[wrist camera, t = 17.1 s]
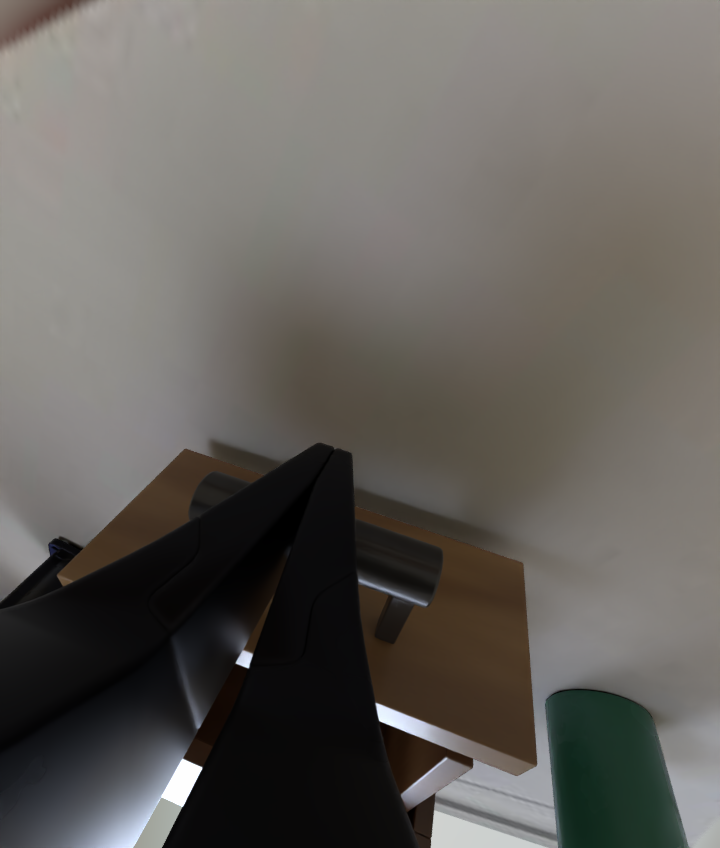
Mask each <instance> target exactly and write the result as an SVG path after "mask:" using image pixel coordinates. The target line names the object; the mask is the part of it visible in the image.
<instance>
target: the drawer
mask: <svg viewBox="0 0 720 848" xmlns="http://www.w3.org/2000/svg"><path fill="white" fill-rule="evenodd" d="M262 476H264V475H262V474H259V473H256V472H253V471H250V470H247V469H244V468H241V467H239V466H236V465H233V464H230V463H227V462H224V461H221V460H218V459H215V458H212V457H209V456H206V455H203V454H200V453H197V452H194V451H191V450H188V449H184V450H183V451H182V452H181V453H180V454H179V455H178V456H177V457H176V458H175V459H174V460H173V461H172V462H171V463H170V464H169V465H168V466H167V467H166V468H165V469H164V470H163V471H162V472H161V473H160V474H159V475H158V476H157V477H156V478H155V479H154V480H153V481H152V482H151V483H150V484H149V485H148V486H147V487H146V488H145V489H144V490H142V491H141V492H140V493H139V494H138V495H137V496H136V497H135V498H134V499H133V500H132V501H131V502H130V503H129V504H128V505H127V506H126V507H125V508H124V509H123V510H122V511H121V512H120V513H119V514H118V515H117V516H116V517H115V518H114V519H113V520H112V521H111V522H110V523H109V524H108V525H107V526H106V527H105V528H104V529H103V530H102V531H101V532H100V533H99V534H98V535H97V536H96V537H95V538H94V539H93V540H92V541H91V542H90V543H89V544H88V545H87V546H86V547H85V548H84V549H83V550H82V551H81V552H80V553H78V554H77V555H76V556H75V557H74V558H73V559H72V560H71V561H70V562H69V563H68V564H67V565H66V566H65V567H64V568H63V569H62V570H61V571H60V572H59V573H58V574H57V577H58V578H59V580H60V582H61V584H62V585H63V586H65V585H67V584H69V583H71V582H73V581H76V580H78V579H80V578H82V577H84V576H86V575H88V574H90V573H92V572H94V571H96V570H98V569H100V568H102V567H104V566H106V565H108V564H110V563H112V562H114V561H116V560H118V559H120V558H122V557H124V556H126V555H128V554H130V553H132V552H134V551H136V550H138V549H140V548H142V547H144V546H146V545H148V544H150V543H152V542H154V541H155V540H157V539H159V538H161V537H163V536H164V535H166V534H168V533H169V532H171V531H173V530H175V529H176V528H178V527H180V526H182V525H183V524H185V523H187V522H188V521H190V520H191V519H193V518H195V517H197V516H198V517H200V514H202V513H203V512H205V511H206V510H208V509H210V508H211V507H213V506H215V505H216V504H218V503H220V502H221V501H223V500H225V499H226V498H228V497H229V496H231V495H233V494H234V493H236V492H238V491H239V490H241V489H243V488H244V487H246V486H247V485H249V484H251V483H252V482H254V481H256V480H257V479H259V478H261V477H262ZM355 525H356V547H357V568H358V571H357V574H358V586H359V600H360V612H361V620H362V627H363V634H364V641H365V647H366V652H367V658H368V663H369V669H370V674H371V680H372V685H373V691H374V696H375V701H376V707H377V712H378V718H379V722H380V727H381V732H382V736H383V741H384V745H385V749H386V753H387V756H388V760H389V763H390V767H391V770H392V773H393V776H394V778H395V781H396V784H397V787H398V789H399V792H400V795H401V798H402V800H403V803H404V806H405V809H406V811H407V812H408V811H409V810H411V809H412V808H414V807H415V806H417V805H418V804H420V803H421V802H423V801H424V800H426V799H427V798H429V797H430V796H432V795H433V794H435V793H436V792H438V791H439V790H441V789H442V788H444V787H445V786H447V785H448V784H449V783H451V782H452V781H454V780H455V779H457V778H458V777H460V776H461V775H463V774H464V773H466V772H467V771H469V770H470V769H472V768H473V759H475V760H477V761H480V762H482V763H485V764H487V765H490V766H492V767H495V768H497V769H500V770H502V771H505V772H507V773H510V774H512V775H515V776H518V775H520V774H522V773H524V772H526V771H528V770H530V769H532V768H534V767H536V766H537V753H536V738H535V724H534V710H533V696H532V681H531V667H530V653H529V638H528V624H527V610H526V596H525V581H524V567H523V563H522V562H519V561H516V560H513V559H510V558H507V557H504V556H501V555H498V554H495V553H492V552H490V551H487V550H484V549H481V548H478V547H475V546H472V545H469V544H466V543H463V542H460V541H457V540H454V539H451V538H448V537H445V536H442V535H439V534H436V533H433V532H430V531H428V530H425V529H422V528H419V527H416V526H413V525H410V524H407V523H404V522H401V521H398V520H395V519H392V518H389V517H386V516H383V515H380V514H377V513H374V512H371V511H368V510H366V509H363V508H360V507H357V506H355ZM274 594H275V593H274ZM273 597H274V595H273ZM273 597H272V598H271V600H270V602H269V604H268V606H267V607H266V609H265V611H264V613H263V615H262V616H261V618H260V620H259V622H258V624H257V625H256V627H255V629H254V631H253V633H252V634H251V636H250V638H249V640H248V642H247V643H246V645H245V647H244V649H243V651H242V652H241V654H240V656H239V658H238V660H237V661H236V663H235V665H234V667H233V669H232V670H231V672H230V674H229V676H228V678H227V679H226V681H225V683H224V685H223V687H222V688H221V690H220V692H219V694H218V696H217V697H216V699H215V701H214V703H213V705H212V706H211V708H210V710H209V712H208V714H207V715H206V717H205V719H204V721H203V723H202V724H201V726H200V728H198V732H197V734H196V735H195V738H198V739H200V740H202V741H205V742H207V743H209V744H212V745H214V744H215V742H216V740H217V738H218V736H219V734H220V732H221V730H222V728H223V726H224V724H225V722H226V720H227V718H228V716H229V714H230V712H231V710H232V708H233V706H234V703H235V701H236V698H237V696H238V694H239V691H240V689H241V686H242V684H243V681H244V678H245V676H246V673H247V670H248V668H249V664H250V661H251V659H252V656H253V653H254V650H255V647H256V645H257V642H258V639H259V636H260V633H261V631H262V628H263V625H264V622H265V619H266V617H267V614H268V611H269V608H270V605H271V603H272V600H273Z"/></svg>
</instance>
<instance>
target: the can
mask: <svg viewBox="0 0 720 848" xmlns="http://www.w3.org/2000/svg"><path fill="white" fill-rule="evenodd" d="M545 709H546V720H547V731H548V742H549V753H550V764H551V775H552V786H553V797H554V808H555V819H556V830H557V841H558V848H689V846H688V842H687V839H686V835H685V832H684V828H683V824H682V821H681V817H680V814H679V810H678V806H677V803H676V799H675V796H674V792H673V788H672V785H671V781H670V778H669V774H668V770H667V767H666V763H665V760H664V756H663V752H662V749H661V745H660V741H659V738H658V734H657V731H656V727H655V723H654V720H653V718H652V716H651V715H650V714H649V713H648V712H647V711H646V710H645V709H644V708H643V707H641V706H639V705H638V704H636V703H634V702H632V701H630V700H627V699H625V698H622V697H619V696H616V695H612V694H608V693H603V692H597V691H589V690H570V691H563V692H559V693H556V694H554V695H552V696H550V697H549V698H548V699H547V701H546V704H545Z"/></svg>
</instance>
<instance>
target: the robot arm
mask: <svg viewBox="0 0 720 848" xmlns="http://www.w3.org/2000/svg"><path fill="white" fill-rule="evenodd" d="M48 546H49V552H50V557H49V558H48V559H47V560H46V561H45V562H44V563H43V564H41V565H40V566H39V567H38V568H37V569H36V570H35V571H34V572H33V573H32V574H31V575H30V576H29V577H27V578H26V579H25V580H24V581H23V582H22V583H21V584H20V585H19V586H18V587H17V588H16V589H15V590H13V591H12V592H11V593H10V594H9V595H8V596H7V597H6V598H5V599H4V600H3V601H2V602H1V603H0V848H133V847H134V845H135V843H136V842H137V840H138V838H139V836H140V834H141V833H142V831H143V829H144V827H145V825H146V824H147V822H148V820H149V818H150V816H151V814H152V813H153V811H154V809H155V807H156V805H157V804H158V802H159V800H160V798H161V797H162V795H163V793H164V791H165V789H166V788H167V786H168V784H169V782H170V780H171V779H172V777H173V775H174V773H175V771H176V770H177V768H178V766H179V764H180V762H181V761H182V759H183V757H184V755H185V753H186V752H187V750H188V748H189V746H190V744H191V743H192V741H193V739H194V737H195V735H196V734H197V732H198V728H200V726H201V724H202V723H203V721H204V719H205V717H206V715H207V714H208V712H209V710H210V708H211V706H212V705H213V703H214V701H215V699H216V697H217V696H218V694H219V692H220V690H221V688H222V687H223V685H224V683H225V681H226V679H227V678H228V676H229V674H230V672H231V670H232V669H233V667H234V665H235V663H236V661H237V660H238V658H239V656H240V654H241V652H242V651H243V649H244V647H245V645H246V643H247V642H248V640H249V638H250V636H251V634H252V633H253V631H254V629H255V627H256V625H257V624H258V622H259V620H260V618H261V616H262V615H263V613H264V611H265V609H266V607H267V606H268V604H269V602H270V600H271V598H272V597H273V595H274V597H273V600H272V603H271V605H270V608H269V611H268V614H267V617H266V619H265V622H264V625H263V628H262V631H261V633H260V636H259V639H258V642H257V645H256V647H255V650H254V653H253V656H252V659H251V661H250V664H249V668H248V670H247V673H246V676H245V678H244V681H243V684H242V686H241V689H240V691H239V694H238V696H237V698H236V701H235V703H234V706H233V708H232V710H231V712H230V714H229V716H228V718H227V720H226V722H225V724H224V726H223V728H222V730H221V732H220V734H219V736H218V738H217V740H216V742H215V744H214V746H213V748H212V750H211V752H210V754H209V756H208V758H207V759H206V761H205V763H204V765H203V767H202V769H201V771H200V773H199V775H198V777H197V779H196V781H195V783H194V785H193V787H192V789H191V791H190V793H189V795H188V797H187V799H186V801H185V803H184V805H183V807H182V809H181V811H180V813H179V815H178V817H177V819H176V821H175V823H174V825H173V827H172V829H171V831H170V833H169V835H168V837H167V839H166V841H165V843H164V845H163V847H162V848H420V847H419V844H418V841H417V839H416V836H415V833H414V830H413V828H412V825H411V822H410V819H409V817H408V814H407V811H406V809H405V806H404V803H403V800H402V798H401V795H400V792H399V789H398V787H397V784H396V781H395V778H394V776H393V773H392V770H391V767H390V763H389V760H388V756H387V753H386V749H385V745H384V741H383V736H382V732H381V727H380V722H379V718H378V712H377V707H376V701H375V696H374V691H373V685H372V680H371V674H370V669H369V663H368V658H367V652H366V647H365V641H364V634H363V627H362V620H361V612H360V600H359V586H358V574H357V571H358V568H357V547H356V525H355V504H354V482H353V461H352V453H351V452H348V451H345V450H342V449H339V448H337V449H334V447H332V446H329V445H326V444H323V443H316V444H315V445H313V446H311V447H310V448H308V449H307V450H305V451H303V452H302V453H300V454H298V455H297V456H295V457H293V458H292V459H290V460H289V461H287V462H285V463H284V464H282V465H280V466H279V467H277V468H275V469H274V470H272V471H270V472H269V473H267V474H266V475H264V476H262V477H261V478H259V479H257V480H256V481H254V482H252V483H251V484H249V485H247V486H246V487H244V488H243V489H241V490H239V491H238V492H236V493H234V494H233V495H231V496H229V497H228V498H226V499H225V500H223V501H221V502H220V503H218V504H216V505H215V506H213V507H211V508H210V509H208V510H206V511H205V512H203V513H202V514H200V517H198V516H197V517H195V518H193V519H191V520H190V521H188V522H187V523H185V524H183V525H182V526H180V527H178V528H176V529H175V530H173V531H171V532H169V533H168V534H166V535H164V536H163V537H161V538H159V539H157V540H155V541H154V542H152V543H150V544H148V545H146V546H144V547H142V548H140V549H138V550H136V551H134V552H132V553H130V554H128V555H126V556H124V557H122V558H120V559H118V560H116V561H114V562H112V563H110V564H108V565H106V566H104V567H102V568H100V569H98V570H96V571H94V572H92V573H90V574H88V575H86V576H84V577H82V578H80V579H78V580H76V581H73V582H71V583H69V584H67V585H65V586H63V585H62V584H61V582H60V580H59V578H58V577H57V574H58V573H59V572H60V571H61V570H62V569H63V568H64V567H65V566H66V565H67V564H68V563H69V562H70V561H71V560H72V559H73V558H74V557H75V556H76V555H77V554H78V553H80V552H81V550H79V549H77V548H75V547H73V546H71V545H69V544H67V543H65V542H63V541H61V540H59V539H56V538H55V539H53V540H52V541H51V542H50V543H49V544H48ZM274 593H275V594H274Z"/></svg>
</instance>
